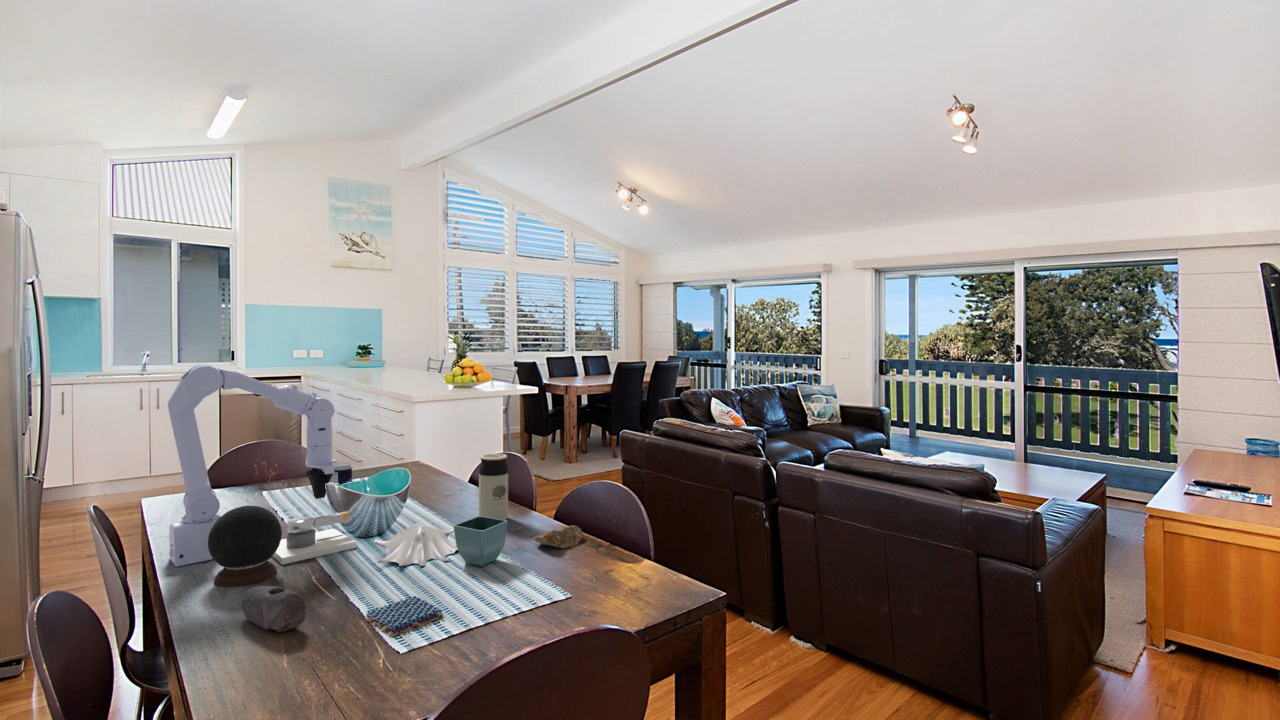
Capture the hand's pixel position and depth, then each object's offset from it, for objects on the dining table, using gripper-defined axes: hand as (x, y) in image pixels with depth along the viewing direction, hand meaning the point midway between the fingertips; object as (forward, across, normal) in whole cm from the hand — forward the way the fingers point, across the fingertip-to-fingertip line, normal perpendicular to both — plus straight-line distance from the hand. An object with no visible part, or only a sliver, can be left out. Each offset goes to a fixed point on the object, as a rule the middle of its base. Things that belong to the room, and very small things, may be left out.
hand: (319, 497), depth 156 cm
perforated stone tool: (+10, -45, +23) cm, 52 cm away
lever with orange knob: (+5, -8, +3) cm, 10 cm away
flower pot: (+10, -44, -20) cm, 49 cm away
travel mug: (+10, -18, -40) cm, 45 cm away
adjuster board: (+10, -8, +5) cm, 14 cm away
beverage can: (+10, +28, -16) cm, 34 cm away
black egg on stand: (+10, -17, +20) cm, 29 cm away
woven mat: (+11, -59, +5) cm, 60 cm away
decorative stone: (+10, -46, -40) cm, 62 cm away
